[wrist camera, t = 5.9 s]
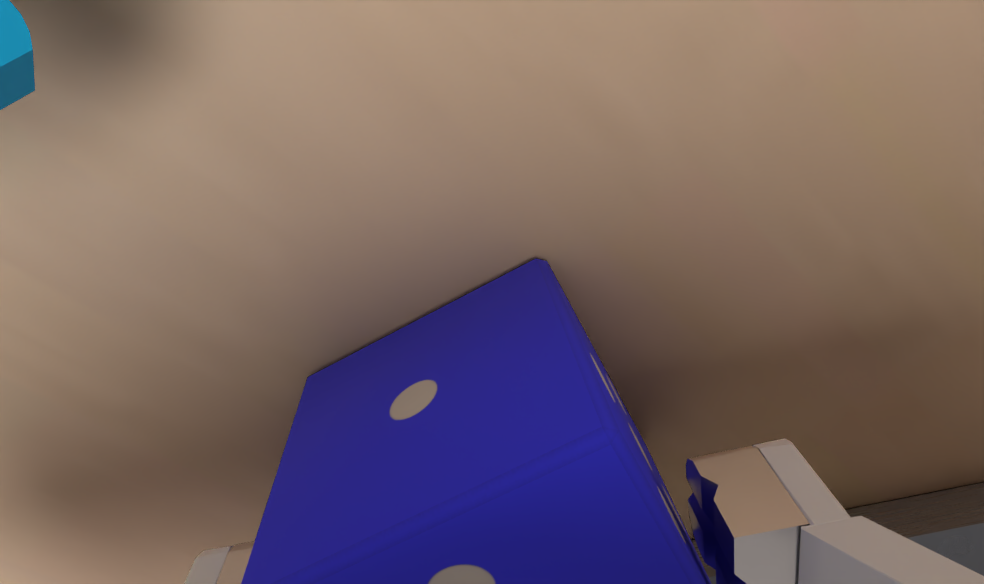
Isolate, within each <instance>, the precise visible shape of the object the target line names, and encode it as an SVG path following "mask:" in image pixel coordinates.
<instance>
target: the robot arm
mask: <svg viewBox="0 0 984 584" xmlns="http://www.w3.org/2000/svg"><path fill="white" fill-rule="evenodd" d="M686 478H687V480H688V482H689V484H690V486H691V488H692V490H693V493H692V495H691V496H690V498H689V499H688V508H689V517H690V522H691V526H692V531H693V535H694V538H695V540H696V543H697V546H698V549H699V551H700V553H701V555H702V558H703V560H704V562H705V563H706V564H707V565H709V566H710V567H712V568H713V569H715V570H716V584H984V576H982V575H980V574H978V573H976V572H974V571H972V570H970V569H968V568H966V567H964V566H962V565H960V564H958V563H956V562H954V561H952V560H950V559H948V558H946V557H944V556H942V555H940V554H938V553H936V552H934V551H932V550H930V549H928V548H926V547H924V546H922V545H920V544H918V543H916V542H914V541H912V540H910V539H908V538H906V537H904V536H902V535H900V534H898V533H896V532H893V531H891V530H889V529H887V528H885V527H883V526H881V525H879V524H877V523H875V522H873V521H871V520H869V519H867V518H865V517H863V516H857V517H850V516H849V514H848V513H847V512H846V510H845V509H844V508H843V507H842V505H841V504H840V503H839V501H838V500H837V499H836V498H835V496H834V495H833V494H832V493H831V491H830V490H829V489H828V487H827V486H826V485H825V484H824V482H823V481H822V480H821V479H820V477H819V476H818V475H817V473H816V472H815V471H814V470H813V468H812V467H811V466H810V465H809V463H808V462H807V461H806V459H805V458H804V457H803V456H802V454H801V453H800V452H799V451H798V449H797V448H796V447H795V445H794V444H793V443H792V442H791V441H789V440H787V439H786V438H784V439H779V440H774V441H769V442H764V443H760V444H755V445H752V446H746V447H741V448H736V449H731V450H726V451H721V452H716V453H711V454H706V455H702V456H697V457H692V458H687V463H686ZM254 542H255V541H253V542H247V543H241V544H235V545H234V546H228V547H221V548H215V549H209V550H203V551H202V552H201V553H200V554H199V555H198V556H197V557H196V558H195V560H194V562H193V564H192V567H191V569H190V571H189V573H188V576H187V578H186V580H185V583H184V584H241V582H242V579H243V576H244V573H245V570H246V567H247V564H248V561H249V558H250V554H251V551H252V548H253V545H254Z"/></svg>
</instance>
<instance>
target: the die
mask: <svg viewBox="0 0 984 584" xmlns="http://www.w3.org/2000/svg"><path fill="white" fill-rule="evenodd" d="M241 584H711V581H710V579H709V577H708V575H707V573H706V571H705V569H704V567H703V565H702V562H701V560H700V558H699V556H698V554H697V552H696V550H695V548H694V546H693V543H692V541H691V539H690V537H689V535H688V533H687V531H686V529H685V527H684V524H683V522H682V520H681V518H680V516H679V514H678V512H677V510H676V508H675V505H674V503H673V501H672V499H671V497H670V495H669V493H668V491H667V489H666V486H665V484H664V482H663V480H662V478H661V476H660V474H659V472H658V470H657V467H656V465H655V463H654V461H653V459H652V457H651V455H650V453H649V451H648V448H647V446H646V444H645V442H644V441H643V439H642V437H641V435H640V433H639V431H638V429H637V428H636V426H635V424H634V422H633V420H632V418H631V416H630V415H629V413H628V411H627V409H626V407H625V405H624V403H623V402H622V400H621V398H620V396H619V394H618V392H617V390H616V388H615V387H614V385H613V383H612V381H611V379H610V377H609V375H608V374H607V372H606V370H605V368H604V366H603V364H602V362H601V361H600V359H599V357H598V355H597V353H596V351H595V349H594V348H593V346H592V344H591V342H590V340H589V338H588V336H587V335H586V333H585V331H584V329H583V327H582V325H581V323H580V322H579V320H578V318H577V316H576V314H575V312H574V310H573V309H572V307H571V305H570V303H569V301H568V299H567V297H566V296H565V294H564V292H563V290H562V288H561V286H560V284H559V283H558V281H557V279H556V277H555V275H554V273H553V271H552V269H551V268H550V266H549V264H548V262H547V261H544V260H541V259H537V258H536V259H534V260H532V261H530V262H528V263H526V264H524V265H522V266H520V267H518V268H516V269H514V270H513V271H511V272H509V273H507V274H505V275H503V276H501V277H499V278H497V279H495V280H493V281H491V282H489V283H488V284H486V285H484V286H482V287H480V288H478V289H476V290H474V291H472V292H470V293H468V294H466V295H465V296H463V297H461V298H459V299H457V300H455V301H453V302H451V303H449V304H447V305H445V306H443V307H441V308H440V309H438V310H436V311H434V312H432V313H430V314H428V315H426V316H424V317H422V318H420V319H418V320H417V321H415V322H413V323H411V324H409V325H407V326H405V327H403V328H401V329H399V330H397V331H395V332H393V333H392V334H390V335H388V336H386V337H384V338H382V339H380V340H378V341H376V342H374V343H372V344H370V345H369V346H367V347H365V348H363V349H361V350H359V351H357V352H355V353H353V354H351V355H349V356H347V357H345V358H344V359H342V360H340V361H338V362H336V363H334V364H332V365H330V366H328V367H326V368H324V369H322V370H320V371H319V372H317V373H315V374H313V375H311V376H309V377H307V380H306V384H305V387H304V390H303V393H302V396H301V399H300V402H299V405H298V408H297V412H296V415H295V418H294V421H293V424H292V427H291V430H290V433H289V436H288V440H287V443H286V446H285V449H284V452H283V455H282V458H281V461H280V464H279V467H278V471H277V474H276V477H275V480H274V483H273V486H272V489H271V492H270V495H269V499H268V502H267V505H266V508H265V511H264V514H263V517H262V520H261V523H260V527H259V530H258V533H257V536H256V539H255V542H254V545H253V548H252V551H251V554H250V558H249V561H248V564H247V567H246V570H245V573H244V576H243V579H242V582H241Z"/></svg>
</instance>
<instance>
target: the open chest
mask: <svg viewBox="0 0 984 584" xmlns="http://www.w3.org/2000/svg"><path fill="white" fill-rule="evenodd" d="M846 512H847V513H848V514H849V516H850V517H857V516H863V517H865V518H867V519H869V520H871V521H873V522H875V523H877V524H879V525H881V526H883V527H885V528H887V529H889V530H891V531H893V532H896V533H898V534H900V535H902V536H904V537H906V538H908V539H910V540H912V541H914V542H916V543H918V544H920V545H922V546H924V547H926V548H928V549H930V550H932V551H934V552H936V553H938V554H940V555H942V556H944V557H946V558H948V559H950V560H952V561H954V562H956V563H958V564H960V565H962V566H964V567H966V568H968V569H970V570H972V571H974V572H976V573H978V574H980V575H982V576H984V483H979V484H974V485H969V486H964V487H959V488H954V489H949V490H944V491H939V492H934V493H929V494H924V495H918V496H913V497H908V498H903V499H898V500H893V501H888V502H883V503H878V504H873V505H868V506H863V507H858V508H853V509H848V510H846ZM692 543H693V546H694V548H695V550H696V552H697V554H698V556H699V558H700V560H701V562H702V565H703V567H704V569H705V571H706V573H707V575H708V577H709V579H710V581H711V584H716V570H715V569H713V568H712V567H710V566H709V565H707V564H706V563H705V562H704V560H703V558H702V555H701V553H700V551H699V549H698V546H697V543H696V540H692Z"/></svg>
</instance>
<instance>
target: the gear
mask: <svg viewBox="0 0 984 584" xmlns="http://www.w3.org/2000/svg"><path fill="white" fill-rule="evenodd" d="M33 91H35V82H34V64H33V49H32V43H31V37H30V31H29V29H28V27H27V25H26V23H25V21H24V19H23V17H22V15H21V14H20V12H19V11H18V10H17V9H16V8H15V7H14V5H13V4H12V3H11V2H10V1H9V0H0V110H1V109H3V108H5V107H7V106H8V105H10V104H12V103H14V102H15V101H17V100H19V99H21V98H22V97H24V96H26V95H28V94H29V93H31V92H33Z"/></svg>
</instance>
